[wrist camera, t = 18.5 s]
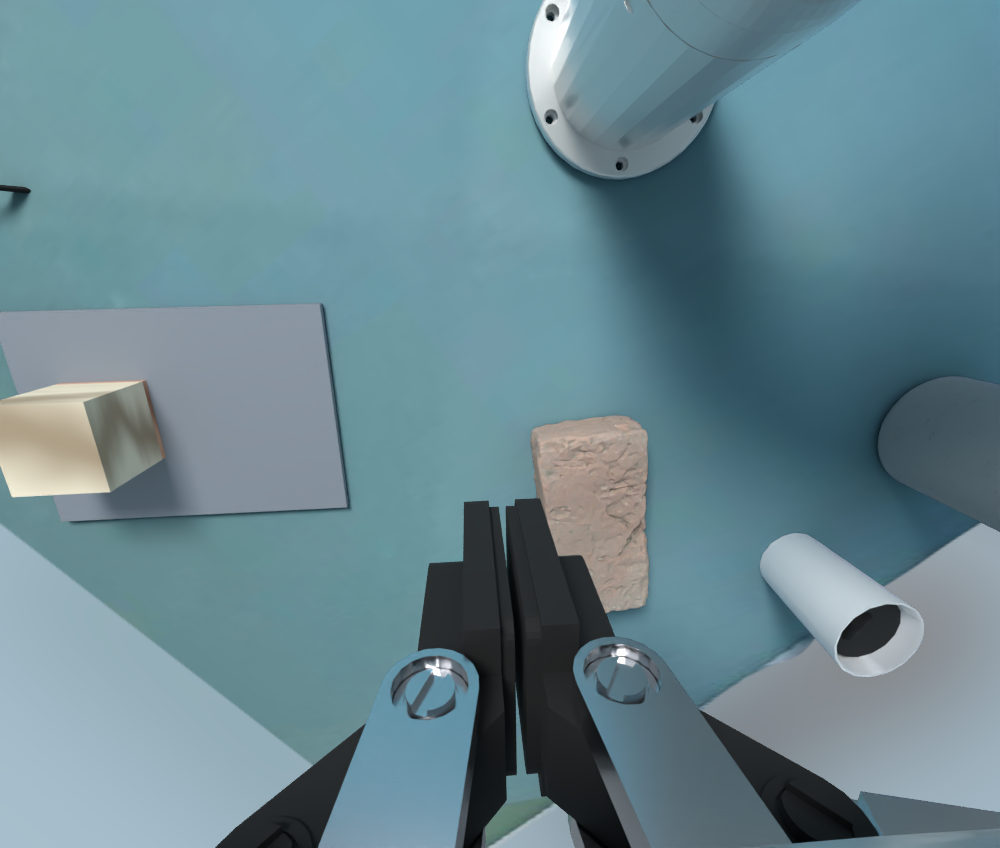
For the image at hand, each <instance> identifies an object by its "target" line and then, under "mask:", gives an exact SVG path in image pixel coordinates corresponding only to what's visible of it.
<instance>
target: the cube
mask: <svg viewBox="0 0 1000 848" xmlns="http://www.w3.org/2000/svg"><path fill="white" fill-rule="evenodd" d="M164 458H166V456H165V452H164V448H163V444H162V441H161V437H160V433H159V429H158V425H157V421H156V417H155V414H154V410H153V406H152V402H151V398H150V394H149V390H148V387H147V383H146V380H138V381H112V382H87V383H61V384H56V385H52V386H49V387H45V388H41V389H38V390H34V391H31V392H27V393H24V394H20V395H17V396H13V397H10V398H6V399H2V400H0V466H1V469H2V471H3V474H4V477H5V479H6V482H7V485H8V487H9V490H10V493H11V495H12V497H25V496H44V495H64V494H84V493H103V492H111V491H113V490H115V489H116V488H118V487H119V486H121V485H123V484H124V483H126V482H127V481H129V480H131V479H132V478H134V477H135V476H137V475H139V474H140V473H142V472H143V471H145V470H146V469H148V468H150V467H151V466H153V465H154V464H156V463H158V462H159V461H161V460H162V459H164Z"/></svg>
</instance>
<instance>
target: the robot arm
mask: <svg viewBox="0 0 1000 848" xmlns="http://www.w3.org/2000/svg"><path fill="white" fill-rule="evenodd" d="M859 1H860V0H543V2H542V4H541V6H540V9H539V11H538V13H537V16H536V18H535V20H534V23H533V27H532V31H531V34H530V38H529V43H528V50H527V56H526V86H527V92H528V98H529V104H530V107H531V110H532V113H533V116H534V119H535V121H536V124H537V126H538V128H539V129H540V131H541V133H542V135H543V137H544V138H545V140H546V141H547V143H548V144H549V145H550V146H551V147H552V149H553V150H554V151H555V152H556V153H557V155H558V156H560V157H561V158H562V159H563V160H564V161H566V162H567V163H568V164H569V165H571V166H572V167H574V168H576V169H578V170H580V171H582V172H584V173H586V174H588V175H591V176H595V177H599V178H603V179H617V180H623V179H628V178H634V177H639V176H642V175H644V174H647V173H649V172H652V171H654V170H656V169H658V168H660V167H662V166H663V165H665V164H667V163H669V162H670V161H671V160H673V159H674V158H675V157H676V156H678V155H679V154H680V153H682V152H683V151H684V150H685V149H686V148H687V146H688V145H689V144H690V143H691V142H692V141H693V140H694V139H695V138H696V136H697V135H698V134H699V132H700V131H701V129H702V128H703V126H704V125H705V123H706V121H707V119H708V117H709V115H710V113H711V110H712V108H713V106H714V103H715V102H716V101H717V100H719V99H720V98H722V97H723V96H725V95H726V94H728V93H729V92H731V91H732V90H734V89H735V88H737V87H738V86H740V85H741V84H743V83H744V82H746V81H747V80H749V79H750V78H752V77H753V76H755V75H756V74H757V73H759V72H760V71H762V70H763V69H765V68H766V67H768V66H769V65H771V64H772V63H774V62H775V61H777V60H778V59H780V58H781V57H783V56H784V55H786V54H787V53H789V52H790V51H792V50H793V49H795V48H796V47H798V46H799V45H801V44H802V43H803V42H805V41H807V40H808V39H810V38H811V37H813V36H814V35H816V34H817V33H819V32H820V31H822V30H823V29H824V28H826V27H827V26H829V25H830V24H832V23H833V22H835V21H836V20H837V19H838V18H840V17H841V16H842V15H844V14H845V13H846V12H847V11H849V10H850V9H851V8H852V7H853V6H855V5H856V4H857V3H858V2H859ZM549 15H550V16H552V17H553V19H554V21H549V20H548V19H547V18H546V17H547V16H549ZM546 117H551V118H552V120H553V122H552V124H547V122H546ZM692 117H693V123H692V122H691V121H690V118H692ZM616 163H620V164H621V170H617V169H616V166H615V165H616ZM506 547H507V567H506V560H505V552H504V545H503V537H502V529H501V522H500V514H499V507H489V501H474V502H464V551H463V561H461V562H444V563H430V564H429V568H428V575H427V583H426V591H425V598H424V606H423V614H422V622H421V629H420V637H419V645H418V652H415V653H412V654H410V655H408V656H406V657H405V658H403V659H401V660H400V661H398V662H397V663H396V664H395V665H394V666H393V667H392V668H391V669H390V670H389V671H388V673H387V674H386V676H385V678H384V680H383V681H382V683H381V686H380V688H379V691H378V694H377V696H376V699H375V701H374V704H373V706H372V709H371V712H370V714H369V717H368V719H367V722H366V724H364V725H363V726H362V727H361V728H359V729H358V730H357V731H356V732H354V733H353V734H352V735H351V736H350V737H348V738H347V739H346V740H345V741H343V742H342V743H341V744H340V745H338V746H337V747H336V748H335V749H333V750H332V751H331V752H330V753H328V754H327V755H326V756H325V757H323V758H322V759H321V760H320V761H318V762H317V763H316V764H315V765H313V766H312V767H311V768H310V769H308V770H307V771H306V772H305V773H304V774H302V775H301V776H300V777H298V778H297V779H296V780H295V781H293V782H292V783H291V784H290V785H289V786H287V787H286V788H285V789H284V790H282V791H281V792H280V793H278V794H277V795H276V796H275V797H274V798H273V799H271V800H270V801H268V802H267V803H266V804H265V805H264V806H262V807H261V808H260V809H259V810H258V811H256V812H255V813H254V814H252V815H251V816H250V817H249V818H247V819H246V820H245V821H244V822H242V824H240V825H239V826H237V827H236V828H235V829H234V830H233V831H232V832H231V833H230V834H229V835H228V836H227V837H226V838H225V839H224V840H222V841H221V842H220V843H219V844H218V845H217V847H216V848H485V845H486V832H485V826H486V825H487V824H488V823H489V821H490V820H491V819H492V818H493V816H494V815H495V814H496V813H497V812H498V810H499V809H500V808H501V807H502V805H503V804H504V803H505V802H506V800H507V795H506V776H510V775H516V774H517V761H516V692H515V682H516V691H517V699H518V708H519V716H520V725H521V734H522V742H523V751H524V759H525V767H526V773H527V774H534V773H538V777H539V784H540V791H541V797H543V796H547V797H548V798H549V799H551V800H552V801H553V802H554V803H555V804H557V805H558V806H559V807H560V808H561V809H563V810H564V811H565V812H566V813H567V814H568V822H569V827H570V833H571V837H572V839H573V843H574V846H575V848H1000V812H994V811H987V810H980V809H974V808H967V807H961V806H954V805H947V804H940V803H933V802H928V801H921V800H914V799H907V798H900V797H895V796H888V795H881V794H874V793H868V792H860V795H859V799H858V800H852V799H850V798H849V797H848V796H847V795H846V794H845V793H844V792H842V791H841V790H839V789H838V788H836V787H835V786H834V785H832V784H831V783H829V782H828V781H826V780H825V779H823V778H821V777H820V776H818V775H816V774H814V773H812V772H810V771H809V770H807V769H805V768H803V767H801V766H800V765H798V764H796V763H794V762H792V761H791V760H789V759H787V758H785V757H784V756H782V755H780V754H778V753H776V752H775V751H773V750H771V749H769V748H767V747H766V746H764V745H762V744H760V743H758V742H756V741H755V740H753V739H751V738H749V737H748V736H746V735H744V734H742V733H740V732H739V731H737V730H735V729H733V728H731V727H730V726H728V725H726V724H724V723H722V722H721V721H719V720H717V719H715V718H714V717H712V716H710V715H708V714H706V713H705V712H703V711H701V710H699V709H698V708H697V707H696V705H695V704H694V703H693V701H692V700H691V698H690V697H689V695H688V694H687V693H686V691H685V690H684V688H683V687H682V685H681V684H680V683H679V681H678V680H677V678H676V677H675V675H674V674H673V673H672V671H671V670H670V668H669V667H668V665H667V664H666V663H665V662H664V661H663V660H662V658H661V657H660V656H659V655H658V654H657V653H656V652H654V651H653V650H651V649H650V648H648V647H647V646H645V645H644V644H641V643H639V642H636V641H634V640H631V639H627V638H621V637H615V635H614V633H613V630H612V628H611V625H610V623H609V620H608V618H607V615H606V613H605V610H604V608H603V605H602V603H601V600H600V598H599V595H598V593H597V590H596V588H595V585H594V583H593V580H592V578H591V575H590V573H589V570H588V568H587V565H586V563H585V560H584V558H583V557H582V556H581V555H568V556H558V553H557V550H556V547H555V544H554V541H553V538H552V535H551V531H550V528H549V525H548V522H547V519H546V516H545V512H544V509H543V506H542V503H541V500H540V498H535V499H515V506H506Z"/></svg>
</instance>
